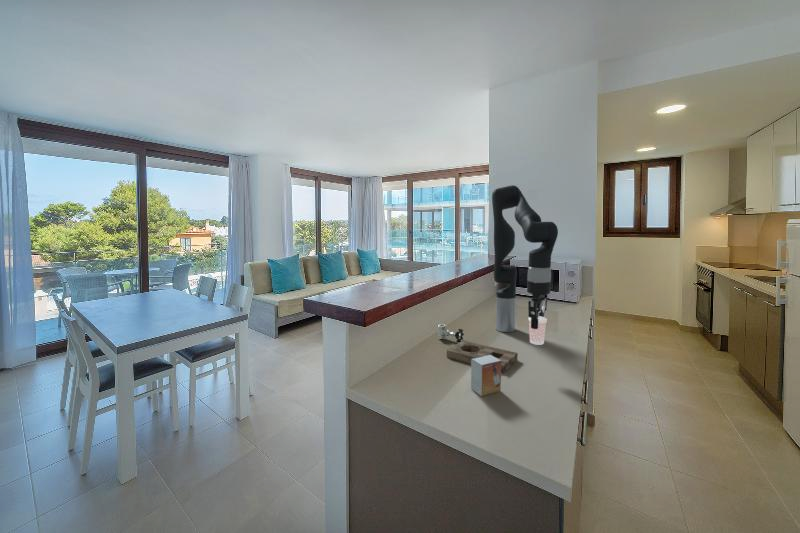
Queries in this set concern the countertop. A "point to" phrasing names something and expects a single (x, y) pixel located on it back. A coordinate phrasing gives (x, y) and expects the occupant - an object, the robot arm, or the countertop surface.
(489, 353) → the socket plate
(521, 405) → the countertop surface
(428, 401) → the countertop surface
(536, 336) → the beverage cup
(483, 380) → the small box
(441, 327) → the valve
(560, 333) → the countertop surface
